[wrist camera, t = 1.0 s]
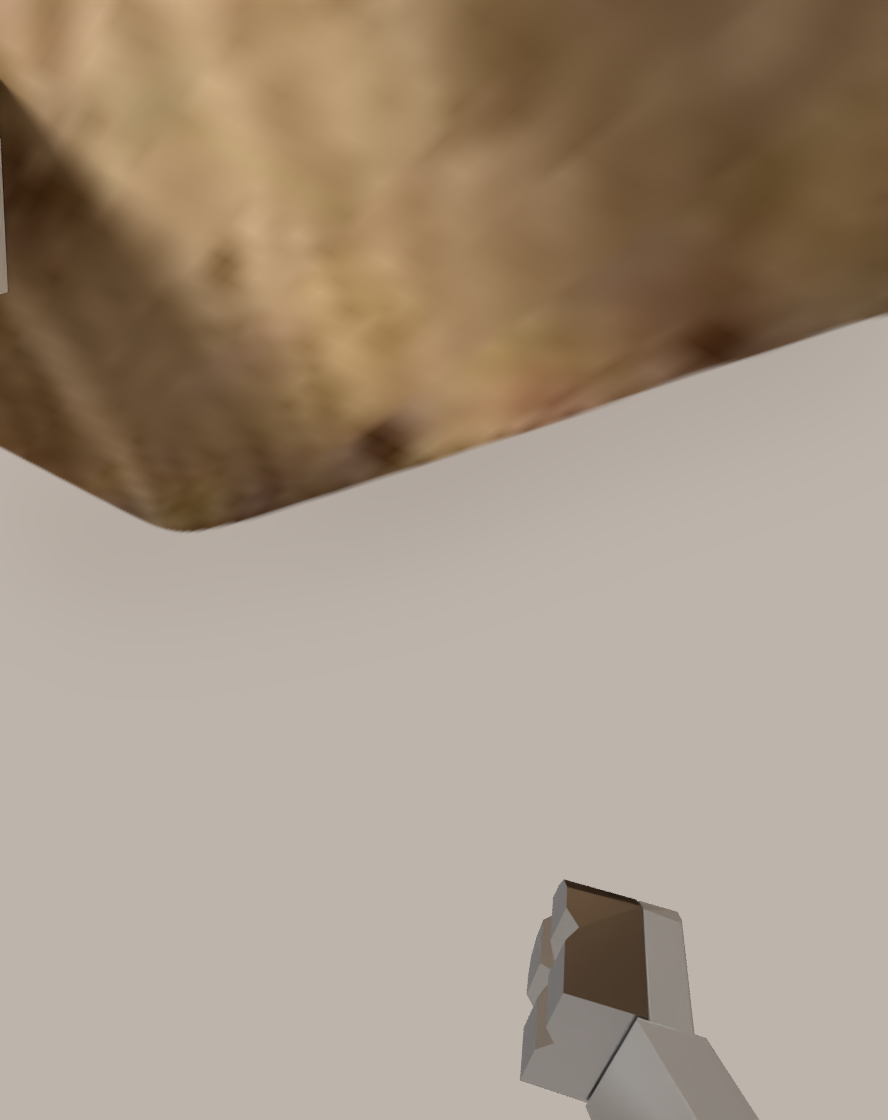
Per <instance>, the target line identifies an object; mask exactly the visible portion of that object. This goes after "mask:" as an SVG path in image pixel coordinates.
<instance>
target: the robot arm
mask: <svg viewBox="0 0 888 1120" xmlns="http://www.w3.org/2000/svg"><path fill="white" fill-rule="evenodd" d="M527 995H528V997H529V999H530V1001H531V1003H532V1005H533V1009H532V1011H531V1013H530V1015H529V1017H528V1020H527V1022H526V1024H525V1026H524V1034H523V1047H522V1062H521V1075H520V1080H521V1081H524V1082H527V1083H530V1084H533V1085H536V1086H539V1087H542V1088H545V1089H548V1090H551V1091H554V1092H557V1093H560V1094H563V1095H566V1096H569V1097H572V1098H575V1099H578V1100H581V1101H584V1102H587V1104H586V1108H587V1111H588V1113H589V1115H590V1118H591V1120H759V1119H758V1117H757V1116H756V1114H755V1113H754V1111H753V1110H752V1108H751V1106H750V1105H749V1103H748V1102H747V1100H746V1099H745V1097H744V1096H743V1094H742V1093H741V1091H740V1090H739V1088H738V1086H737V1085H736V1083H735V1082H734V1080H733V1079H732V1077H731V1076H730V1074H729V1073H728V1071H727V1070H726V1068H725V1067H724V1065H723V1063H722V1062H721V1060H720V1059H719V1057H718V1056H717V1054H716V1053H715V1051H714V1049H713V1048H712V1046H711V1045H710V1043H709V1042H708V1040H707V1039H706V1038H704V1037H701V1036H698V1035H695V1034H694V1027H693V1017H692V1009H691V1000H690V991H689V981H688V972H687V963H686V954H685V946H684V936H683V928H682V920H681V918H680V916H679V914H678V912H676V911H672V910H669V909H665V908H662V907H659V906H655V905H652V904H648V903H644V902H641V901H637V900H635V899H632V898H628V897H625V896H621V895H618V894H614V893H611V892H607V891H603V890H600V889H596V888H593V887H589V886H586V885H582V884H579V883H574V882H571V881H568V880H563V881H562V882H561V884H560V885H559V886H558V888H557V891H556V893H555V895H554V897H553V909H552V916H550V917H549V918H546V919H544V920H543V922H542V925H541V927H540V930H539V932H538V935H537V937H536V941H535V945H534V949H533V953H532V956H531V962H530V968H529V974H528V985H527Z"/></svg>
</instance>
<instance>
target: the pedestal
mask: <svg viewBox="0 0 888 1120" xmlns="http://www.w3.org/2000/svg"><path fill="white" fill-rule="evenodd" d="M6 292H8V285H7V264H6V243H5V223H4V202H3V181H2V161H1V140H0V294H3V293H6Z"/></svg>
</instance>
